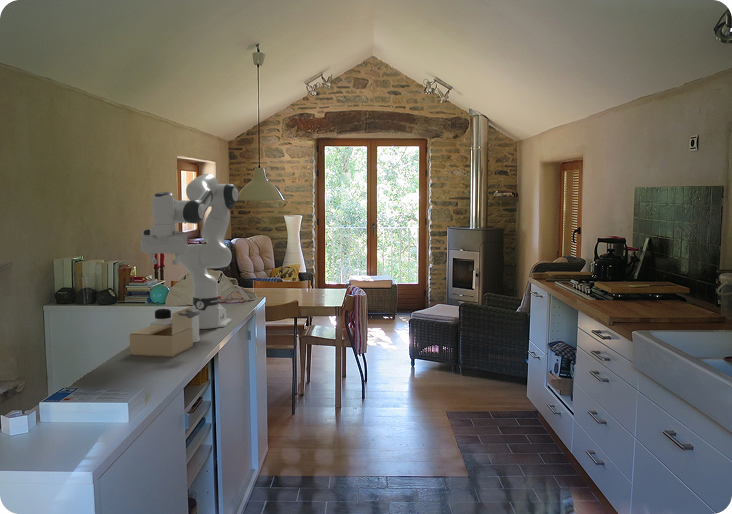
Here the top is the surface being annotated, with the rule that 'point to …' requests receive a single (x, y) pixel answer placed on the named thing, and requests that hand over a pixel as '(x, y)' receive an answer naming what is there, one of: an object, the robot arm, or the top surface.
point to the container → (162, 317)
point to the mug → (195, 328)
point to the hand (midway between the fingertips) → (165, 264)
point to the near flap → (183, 319)
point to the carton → (160, 341)
